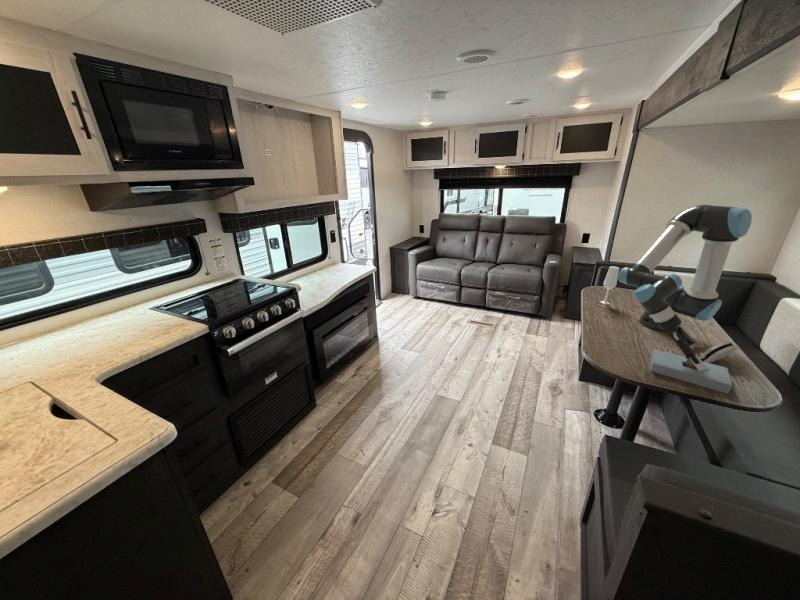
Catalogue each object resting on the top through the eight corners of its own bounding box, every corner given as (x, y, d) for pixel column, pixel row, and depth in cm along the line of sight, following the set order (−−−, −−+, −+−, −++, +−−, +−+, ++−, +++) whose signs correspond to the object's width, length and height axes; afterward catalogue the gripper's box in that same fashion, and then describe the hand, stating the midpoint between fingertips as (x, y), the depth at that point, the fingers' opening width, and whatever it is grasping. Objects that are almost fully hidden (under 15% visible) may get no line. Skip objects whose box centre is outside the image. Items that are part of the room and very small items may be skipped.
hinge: (714, 350, 147) (731, 336, 140) (724, 358, 144) (743, 344, 137) (691, 358, 141) (708, 344, 135) (702, 366, 138) (720, 352, 132)
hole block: (650, 371, 133) (653, 363, 131) (651, 356, 143) (653, 348, 141) (728, 393, 119) (732, 385, 118) (723, 375, 130) (727, 367, 128)
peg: (681, 370, 133) (692, 343, 128) (690, 373, 131) (702, 346, 127) (681, 373, 131) (693, 346, 126) (691, 376, 129) (703, 348, 125)
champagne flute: (606, 306, 193) (617, 269, 183) (595, 302, 198) (605, 266, 189) (612, 304, 196) (623, 268, 186) (602, 300, 201) (611, 265, 192)
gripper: (655, 313, 140) (689, 355, 137) (654, 332, 124) (693, 379, 122) (675, 305, 135) (710, 348, 132) (676, 324, 119) (716, 373, 117)
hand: (702, 363), depth 127 cm, fingers open, 9 cm apart
